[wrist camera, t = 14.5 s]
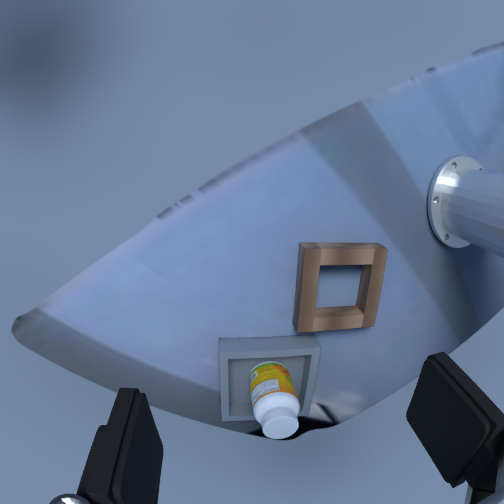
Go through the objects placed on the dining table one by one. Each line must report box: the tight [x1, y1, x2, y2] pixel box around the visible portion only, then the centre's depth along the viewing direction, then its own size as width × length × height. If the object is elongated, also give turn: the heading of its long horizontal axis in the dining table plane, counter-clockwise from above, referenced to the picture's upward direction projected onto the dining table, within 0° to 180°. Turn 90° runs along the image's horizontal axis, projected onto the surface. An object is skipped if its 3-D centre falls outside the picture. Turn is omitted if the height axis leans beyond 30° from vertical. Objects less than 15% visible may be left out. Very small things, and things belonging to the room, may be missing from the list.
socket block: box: [293, 243, 388, 333], centre depth 36 cm, size 10×10×2 cm
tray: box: [219, 334, 321, 421], centre depth 38 cm, size 12×12×3 cm
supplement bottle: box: [249, 361, 300, 439], centre depth 35 cm, size 5×5×10 cm
